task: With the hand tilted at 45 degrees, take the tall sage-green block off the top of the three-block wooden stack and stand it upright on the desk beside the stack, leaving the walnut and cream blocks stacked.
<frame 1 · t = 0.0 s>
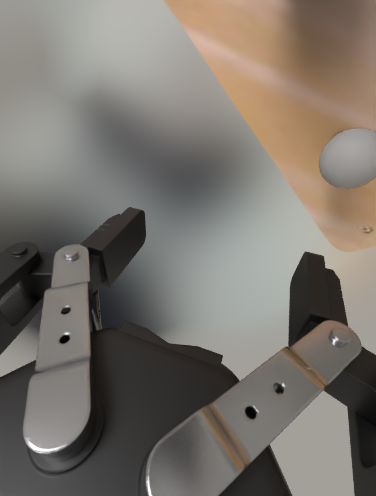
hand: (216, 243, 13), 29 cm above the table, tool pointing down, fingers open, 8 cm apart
lightbulb: (341, 139, 33), on the table
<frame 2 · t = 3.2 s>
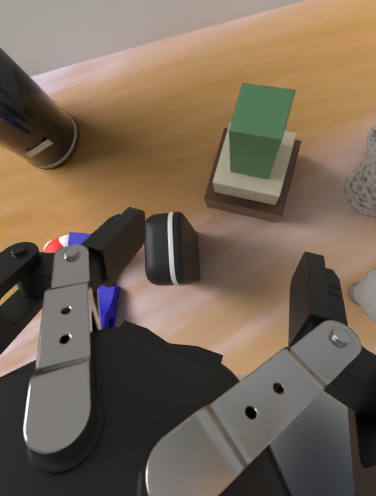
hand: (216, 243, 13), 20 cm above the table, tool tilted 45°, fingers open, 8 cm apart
battery charger: (185, 257, 33), on the table
molecule: (73, 251, 36), on the table
walnut base: (249, 181, 32), on the table, touching cream block
green block: (253, 157, 26), point 6 cm above the table, touching cream block
cream block: (251, 170, 29), point 3 cm above the table, touching green block, walnut base
lightbulb: (356, 292, 29), on the table
cable clip: (105, 284, 34), on the table
mug: (371, 176, 30), on the table
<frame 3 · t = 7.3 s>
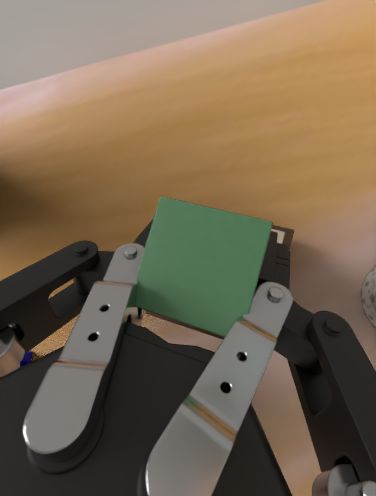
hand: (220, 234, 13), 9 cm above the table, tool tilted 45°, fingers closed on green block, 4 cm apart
walnut base: (219, 273, 22), on the table, touching cream block
green block: (214, 271, 16), point 7 cm above the table, touching cream block, gripper
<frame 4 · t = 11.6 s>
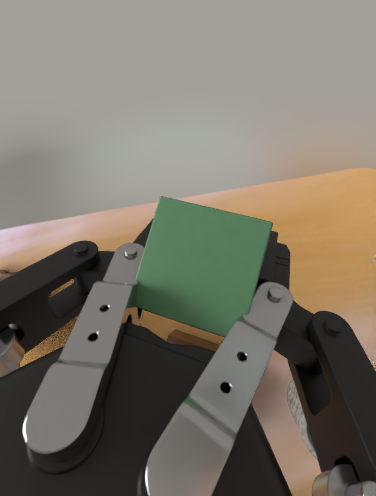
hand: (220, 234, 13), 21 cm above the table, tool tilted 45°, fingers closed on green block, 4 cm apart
walnut base: (197, 374, 33), on the table, touching cream block
green block: (214, 271, 16), point 19 cm above the table, touching gripper
mug: (313, 383, 31), on the table
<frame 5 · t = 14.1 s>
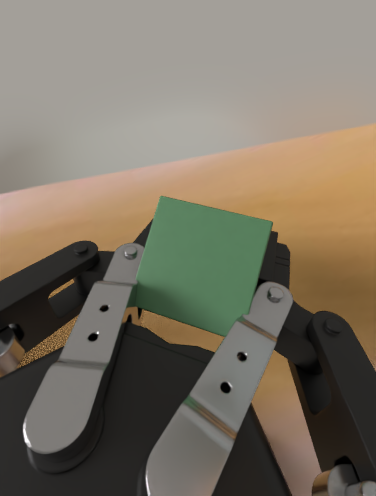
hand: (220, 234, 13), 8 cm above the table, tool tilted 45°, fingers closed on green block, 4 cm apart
green block: (214, 271, 16), point 5 cm above the table, touching gripper
when the fingers open (3 cm above the table, at t = 15.9 s): green block stays where it is, on the table.
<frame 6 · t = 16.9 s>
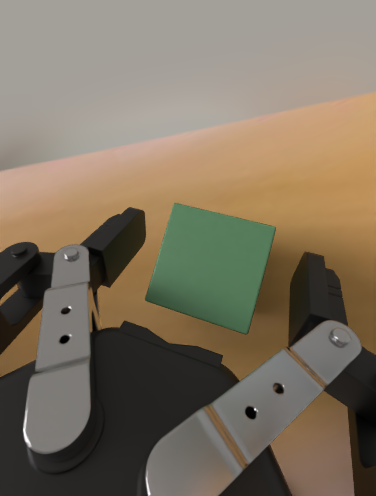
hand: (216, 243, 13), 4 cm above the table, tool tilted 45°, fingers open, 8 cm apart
green block: (220, 271, 17), on the table
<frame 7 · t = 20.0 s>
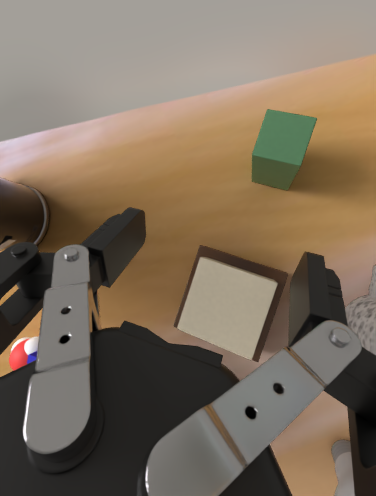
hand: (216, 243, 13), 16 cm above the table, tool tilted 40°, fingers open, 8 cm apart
molecule: (44, 346, 34), on the table
walnut base: (230, 296, 28), on the table, touching cream block
green block: (275, 168, 28), on the table
cream block: (227, 301, 25), point 4 cm above the table, touching walnut base
lightbulb: (342, 445, 25), on the table
mug: (375, 310, 25), on the table
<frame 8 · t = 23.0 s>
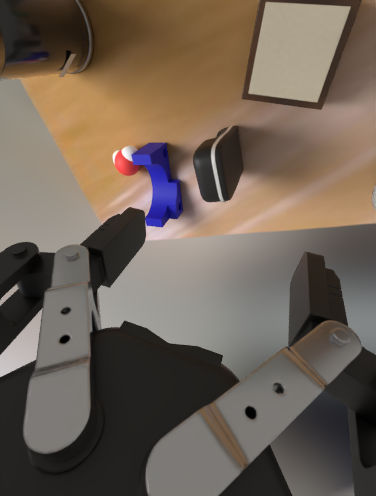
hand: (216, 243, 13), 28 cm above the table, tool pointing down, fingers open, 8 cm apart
battery charger: (228, 150, 37), on the table
molecule: (133, 154, 43), on the table
walnut base: (293, 54, 28), on the table, touching cream block
cream block: (293, 54, 26), point 4 cm above the table, touching walnut base
cable clip: (167, 178, 43), on the table
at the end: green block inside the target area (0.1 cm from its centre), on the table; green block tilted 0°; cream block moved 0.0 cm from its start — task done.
